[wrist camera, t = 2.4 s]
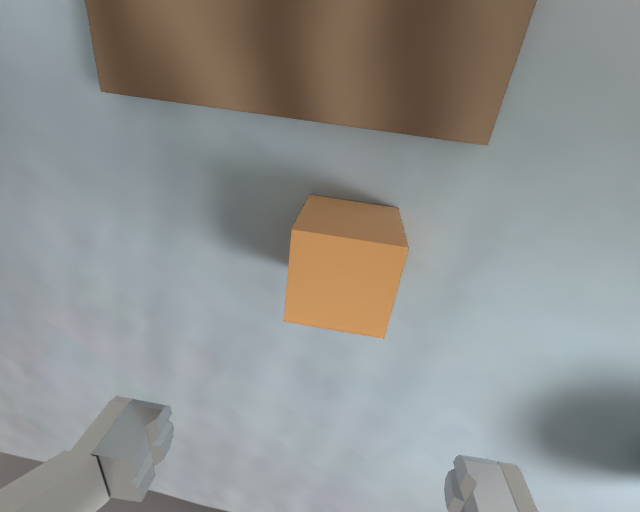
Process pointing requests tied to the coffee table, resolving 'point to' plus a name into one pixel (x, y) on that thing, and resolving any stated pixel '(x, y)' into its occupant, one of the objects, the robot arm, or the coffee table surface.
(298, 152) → the coffee table surface
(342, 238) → the wooden toy cube
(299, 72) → the post block
